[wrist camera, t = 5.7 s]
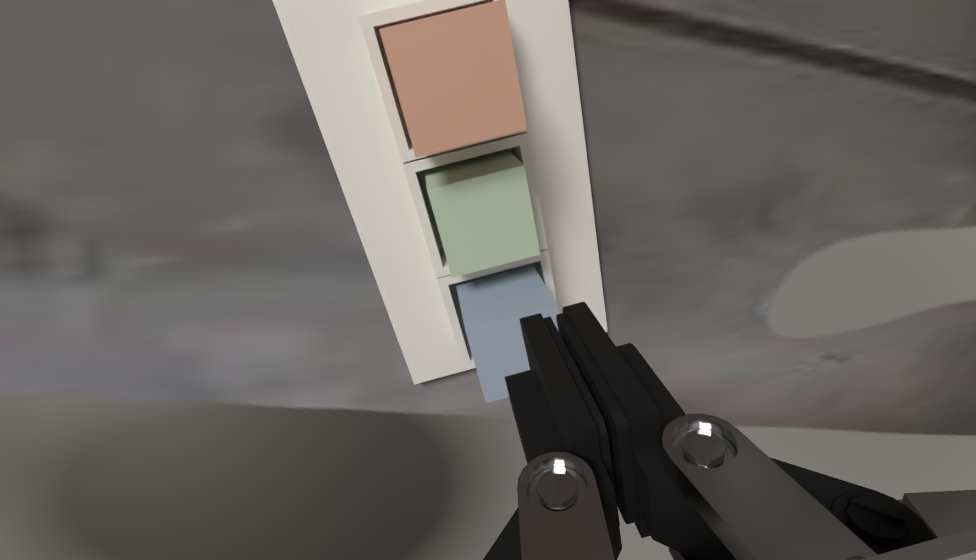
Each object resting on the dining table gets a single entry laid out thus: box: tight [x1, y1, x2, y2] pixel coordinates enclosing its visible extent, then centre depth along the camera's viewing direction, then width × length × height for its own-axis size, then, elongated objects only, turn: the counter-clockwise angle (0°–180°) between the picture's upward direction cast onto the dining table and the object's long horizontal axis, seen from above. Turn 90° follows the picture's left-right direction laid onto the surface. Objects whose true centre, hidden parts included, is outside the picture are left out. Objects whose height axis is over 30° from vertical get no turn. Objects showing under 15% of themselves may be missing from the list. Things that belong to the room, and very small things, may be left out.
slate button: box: [456, 265, 559, 403], centre depth 26 cm, size 5×5×5 cm
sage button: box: [424, 149, 540, 278], centre depth 25 cm, size 5×5×5 cm
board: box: [273, 0, 608, 385], centre depth 26 cm, size 14×24×4 cm, turn 13°
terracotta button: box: [379, 0, 527, 158], centre depth 20 cm, size 5×5×5 cm
